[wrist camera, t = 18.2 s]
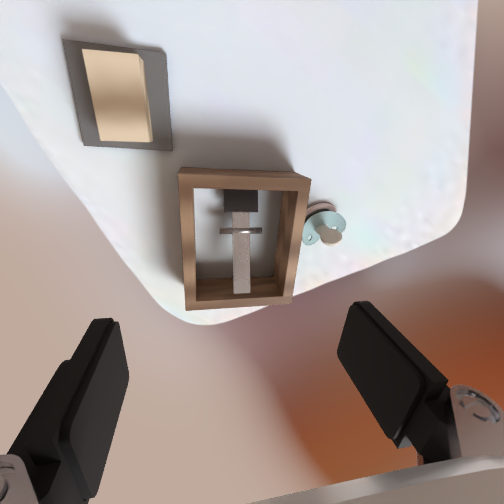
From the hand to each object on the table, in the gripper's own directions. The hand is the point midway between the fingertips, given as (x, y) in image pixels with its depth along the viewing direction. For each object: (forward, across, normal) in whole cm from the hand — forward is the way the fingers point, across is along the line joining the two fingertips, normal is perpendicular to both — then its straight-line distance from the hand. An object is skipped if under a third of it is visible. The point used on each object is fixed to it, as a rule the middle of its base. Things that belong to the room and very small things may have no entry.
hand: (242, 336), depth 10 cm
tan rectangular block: (+28, +10, -10) cm, 31 cm away
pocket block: (+28, -4, +6) cm, 29 cm away
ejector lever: (+26, -4, +7) cm, 27 cm away
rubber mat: (+28, +10, -10) cm, 32 cm away
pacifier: (+29, -17, +4) cm, 34 cm away
